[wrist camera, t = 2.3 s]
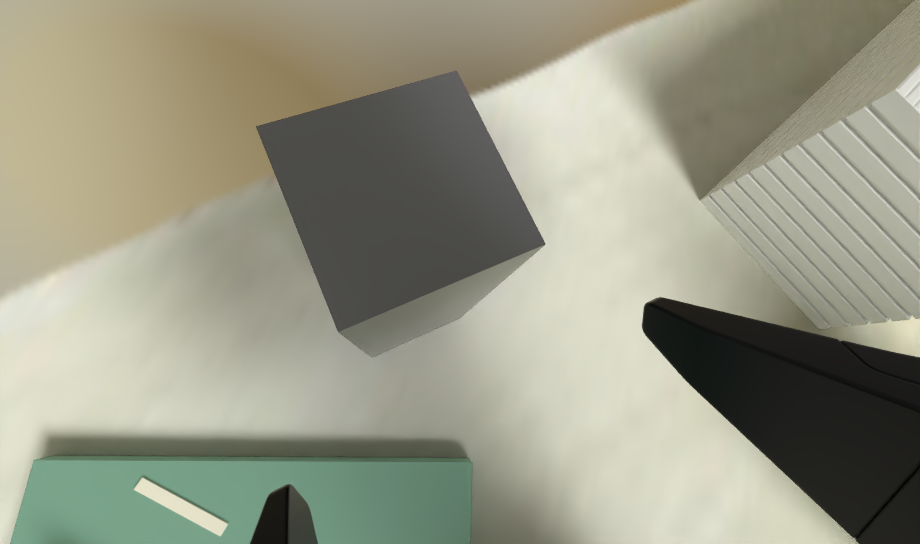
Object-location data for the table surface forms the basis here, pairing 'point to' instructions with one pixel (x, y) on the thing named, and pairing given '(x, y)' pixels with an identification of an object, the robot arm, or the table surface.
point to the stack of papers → (840, 189)
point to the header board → (242, 499)
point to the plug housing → (401, 208)
